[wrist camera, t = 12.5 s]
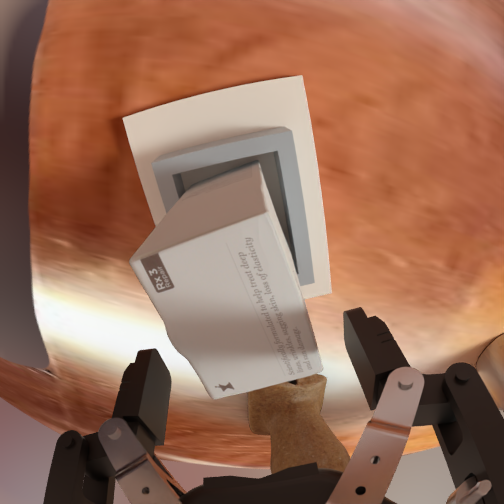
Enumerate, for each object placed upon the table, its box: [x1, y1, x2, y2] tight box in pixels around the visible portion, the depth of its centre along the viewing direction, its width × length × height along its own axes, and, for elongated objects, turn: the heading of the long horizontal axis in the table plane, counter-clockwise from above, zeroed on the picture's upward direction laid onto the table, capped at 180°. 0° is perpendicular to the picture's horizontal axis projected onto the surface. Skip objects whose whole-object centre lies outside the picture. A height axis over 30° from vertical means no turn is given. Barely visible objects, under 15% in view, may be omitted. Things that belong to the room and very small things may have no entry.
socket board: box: [123, 75, 332, 299], centre depth 25 cm, size 20×14×4 cm
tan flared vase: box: [248, 374, 350, 474], centre depth 33 cm, size 15×12×15 cm
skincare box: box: [129, 160, 323, 399], centre depth 19 cm, size 8×6×15 cm
